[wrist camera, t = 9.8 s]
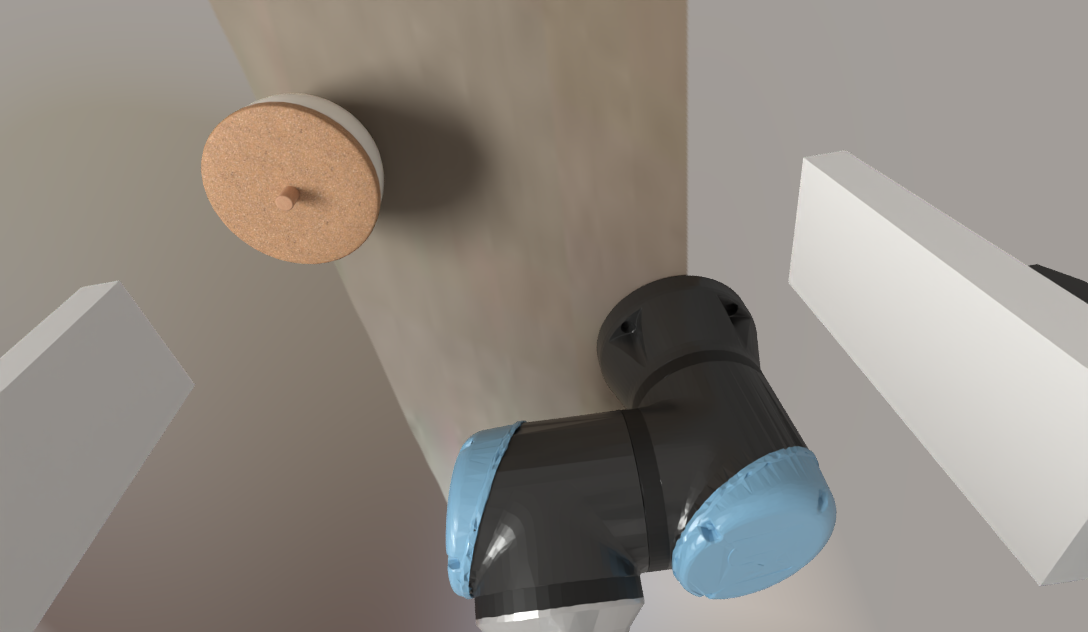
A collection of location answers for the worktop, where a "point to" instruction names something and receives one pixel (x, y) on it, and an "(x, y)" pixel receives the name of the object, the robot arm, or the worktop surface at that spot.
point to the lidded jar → (295, 178)
